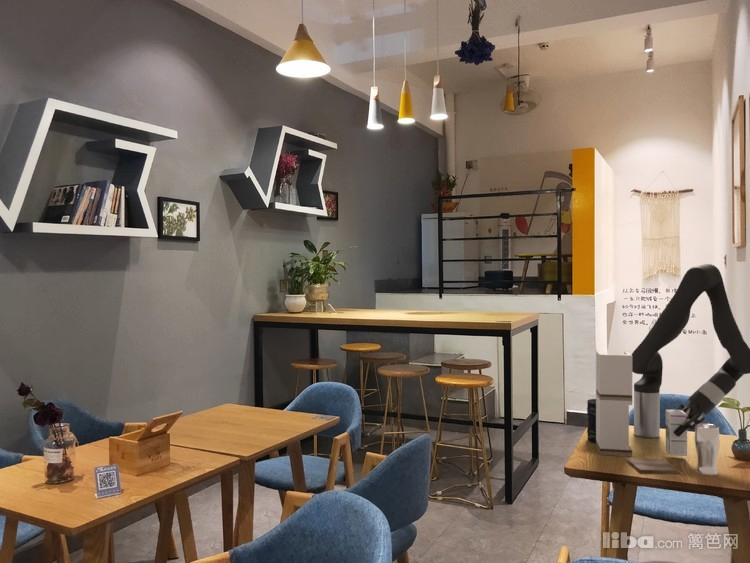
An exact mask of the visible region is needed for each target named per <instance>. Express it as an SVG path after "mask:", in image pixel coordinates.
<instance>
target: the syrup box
mask: <svg viewBox="0 0 750 563" xmlns="http://www.w3.org/2000/svg"><path fill="white" fill-rule="evenodd" d="M686 417H687V414H686V413H685V412H684V411H682V410H676V409H665V426H666V428H665V451H666V452H667V453H668V455H670V456H676V457H677V456H680V457H681V456H682V457H688V430H687V429H686V430H685V431H684V432H683V433H682V434H681V435H680V436H679V437H678V436H676V435H675V434H674V433H673V432H674V431H675V430H676V429H677V428H678V427H679V426H680V425H682V423H683V421H684V420H685V418H686Z"/></svg>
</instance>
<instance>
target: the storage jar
mask: <svg viewBox="0 0 750 563" xmlns="http://www.w3.org/2000/svg"><path fill="white" fill-rule="evenodd" d="M586 414H587V422H588V423H587V425H586V429H587V430H586V433H587V434H586V435H587V441H588V442H589V441H590V442H589V443H592V444H596V398H592V399H591V398H590V399H588V400H587V407H586Z"/></svg>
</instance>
